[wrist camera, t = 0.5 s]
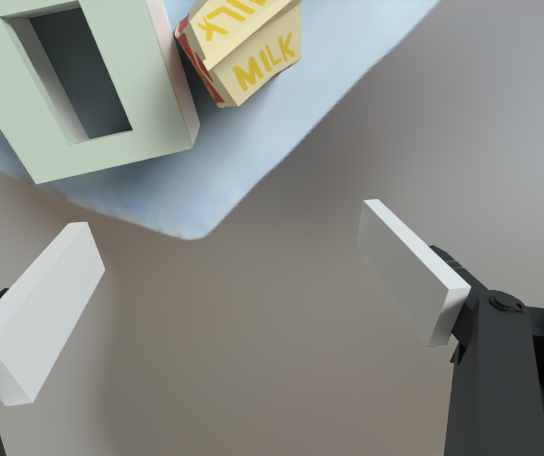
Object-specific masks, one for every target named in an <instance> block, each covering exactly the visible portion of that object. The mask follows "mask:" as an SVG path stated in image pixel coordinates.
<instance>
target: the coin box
mask: <svg viewBox="0 0 544 456" xmlns="http://www.w3.org/2000/svg"><path fill="white" fill-rule="evenodd" d="M80 7H81V8H82V10H83V12H84V15H85V17H86V19H87V22H88V24H89V27H90V29H91V31H92V34H93V36H94V39H95V41H96V43H97V46H98V48H99V50H100V53H101V55H102V58H103V60H104V62H105V65H106V67H107V69H108V72H109V74H110V77H111V79H112V81H113V84H114V86H115V88H116V91H117V93H118V96H119V98H120V100H121V103H122V105H123V107H124V110H125V112H126V115H127V117H128V119H129V122H130V124H131V126H132V129H133V130H129V131H124V132H120V133H115V134H111V135H106V136H102V137H98V138H93V139H89V138H88V136H87V134H86V132H85V130H84V128H83V126H82V124H81V122H80V120H79V118H78V116H77V114H76V112H75V110H74V108H73V106H72V104H71V102H70V100H69V98H68V96H67V94H66V92H65V90H64V88H63V86H62V84H61V82H60V80H59V78H58V76H57V74H56V72H55V70H54V68H53V66H52V64H51V62H50V60H49V58H48V56H47V54H46V52H45V50H44V48H43V46H42V44H41V42H40V40H39V38H38V36H37V34H36V32H35V30H34V28H33V26H32V24H31V22H30V21H29V19H28V18H33V17H37V16H42V15H47V14H52V13H56V12H61V11H66V10H70V9H75V8H80ZM199 127H200V122H199V118H198V115H197V112H196V108H195V105H194V102H193V99H192V95H191V92H190V89H189V85H188V82H187V79H186V75H185V72H184V69H183V65H182V62H181V59H180V56H179V52H178V49H177V46H176V42H175V39H174V36H173V32H172V29H171V26H170V23H169V19H168V16H167V13H166V9H165V6H164V3H163V0H0V129H1V131H2V132H3V134H4V135H5V137H6V139H7V140H8V142H9V143H10V145H11V146H12V148H13V149H14V151H15V152H16V154H17V156H18V157H19V159H20V160H21V162H22V163H23V165H24V166H25V168H26V170H27V171H28V173H29V174H30V176H31V177H32V179H33V180H34V182H35V183H36V184H40V183H45V182H49V181H53V180H58V179H62V178H67V177H71V176H75V175H80V174H84V173H88V172H93V171H97V170H102V169H106V168H110V167H115V166H119V165H124V164H128V163H132V162H137V161H141V160H146V159H150V158H154V157H159V156H163V155H167V154H172V153H176V152H181V151H185V150H189V149H192V148H193V145H194V142H195V139H196V136H197V133H198V130H199Z"/></svg>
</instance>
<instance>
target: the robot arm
mask: <svg viewBox="0 0 544 456" xmlns="http://www.w3.org/2000/svg"><path fill="white" fill-rule="evenodd" d="M356 246H357V247H358V249H359V250H360V252H361V253H362V254H363V256H364V257H365V259H366V260H367V262H368V263H369V265H370V266H371V267H372V269H373V270H374V272H375V273H376V275H377V276H378V278H379V279H380V280H381V282H382V283H383V285H384V286H385V287H386V289H387V290H388V292H389V293H390V295H391V296H392V297H393V299H394V301H395V302H396V303H397V305H398V306H399V308H400V309H401V311H402V312H403V314H404V315H405V316H406V318H407V319H408V321H409V322H410V323H411V325H412V326H413V328H414V329H415V331H416V332H417V334H418V335H419V336H420V338H421V339H422V341H423V342H424V344H425V345H426V347H434V346H441V345H447V343H448V341H449V338H450V336H451V334H453V335H454V336H455V337H456V339H457V340H458V341H459V343H458V345H457V347H456V349H455V352H454V354H453V356H452V358H451V360H450V362H451V363H454V370H453V379H452V389H451V396H450V406H449V415H448V423H447V432H446V440H445V450H444V456H544V308H537V307H528V306H525V305H524V304H523V303H522V302H521V301H520V300H518V299H517V298H515V297H513V296H512V295H509V294H507V293H504V292H501V291H496V290H488V289H487V288H486V287H485V286H484V285H483V284H481V283H480V282H479V281H478V280H477V279H476V278H475V277H474V276H472V275H471V274H470V273H469V272H468V271H467V270H466V269H464V268H462V266H461V265H460V264H459V263H458V262H456V261H455V260H454V259H453V258H452V257H451V256H450V255H449V254H448V253H446V252H445V251H443V250H441V249H439V248H437V247H435V246H427V245H426V244H425V243H424V242H423V241H422V240H421V239H420V238H418V236H416V235H415V234H414V233H413V232H412V231H411V230H410V229H409V228H408V227H407V226H406V225H405V224H404V223H403V222H402V221H401V220H399V219H398V218H397V217H396V216H395V215H394V214H393V213H392V212H391V211H390V210H389V209H388V208H387V207H386V206H385V205H383V204H382V203H381V202H380V201H379V200H378V199H375V200H364V201H363V207H362V214H361V219H360V226H359V233H358V239H357V245H356ZM104 271H105V268H104V265H103V263H102V260H101V258H100V255H99V252H98V250H97V247H96V244H95V242H94V239H93V236H92V234H91V231H90V228H89V226H88V223H87V222H77V223H69V224H68V225H67V226H66V227H65V228H64V229H63V230H62V231H61V232H60V234H59V235H58V236H57V237H56V238H55V239H54V240H53V241H52V242H51V243H50V245H49V246H48V247H47V248H46V249H45V250H44V251H43V252H42V253H41V255H40V256H39V257H38V258H37V259H36V260H35V261H34V262H33V263H32V264H31V266H30V267H29V268H28V269H27V270H26V271H25V272H24V273H23V274H22V275H21V277H20V278H19V279H18V280H17V281H16V282H15V283H14V284H13V285H12V287H11V288H5V289H3V290H2V291H0V400H1V401H2V402H3V404H4V405H5V406H13V405H21V404H28V403H33V402H34V400H35V398H36V396H37V394H38V393H39V391H40V389H41V387H42V385H43V383H44V381H45V380H46V378H47V376H48V374H49V372H50V370H51V369H52V367H53V365H54V363H55V361H56V359H57V358H58V356H59V354H60V352H61V350H62V348H63V347H64V345H65V343H66V341H67V339H68V337H69V335H70V334H71V332H72V330H73V328H74V326H75V324H76V323H77V321H78V319H79V317H80V315H81V313H82V312H83V310H84V308H85V306H86V304H87V302H88V301H89V299H90V297H91V295H92V293H93V291H94V290H95V288H96V285H97V284H98V282H99V280H100V278H101V276H102V275H103V273H104ZM0 456H6V453H5V450H4V447H3V443H2V440H1V437H0Z"/></svg>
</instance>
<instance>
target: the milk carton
mask: <svg viewBox="0 0 544 456" xmlns="http://www.w3.org/2000/svg"><path fill="white" fill-rule="evenodd" d="M301 1H302V0H199V1H198V2H197V3H195V4H194V5H192V7H191V9H190V11H189V13H188V16H187V17H186V18H184V19H183V20H182V21H181V22H179V23H178V24H177V27H176V31H175V36H176V38H177V40H178V41H179V43H180V45H181V46H182V48H183V50H184V51H185V53H186V54H187V56H188V58H189V59H190V61H191V63H192V64H193V66H194V68H195V69H196V71H197V73H198V74H199V76H200V78H201V79H202V81H203V83H204V84H205V86H206V88H207V90H208V91H209V93H210V95H211V96H212V98H213V100H214V101H215V103H216V105H217V106H218V107H219V108H222V109H223V108H224V107H226V106H232V107H239V106H240V105H241V104H242V103H243V102H244V101H245V100H247V99H248V98H249V97H250V96H251V95H252V94H253V93H254V92H255V91H257V90H258V89H259V88H260V87H261V86H262V85H263V84H264V83H266V82H267V81H268V80H270V79H271V78H273V77H275V76H276V75H278V74H280V73H281V72H283V71H285V70H286V69H288V68H290V67H291V66H293V65H294V64H296V63H297V62H298V61H299V60H300V59H301V36H300V2H301Z"/></svg>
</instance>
